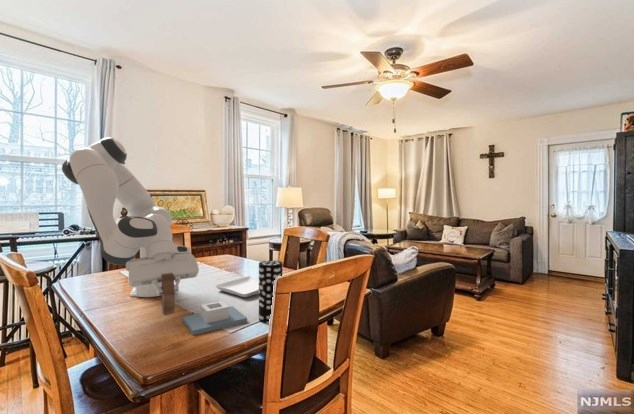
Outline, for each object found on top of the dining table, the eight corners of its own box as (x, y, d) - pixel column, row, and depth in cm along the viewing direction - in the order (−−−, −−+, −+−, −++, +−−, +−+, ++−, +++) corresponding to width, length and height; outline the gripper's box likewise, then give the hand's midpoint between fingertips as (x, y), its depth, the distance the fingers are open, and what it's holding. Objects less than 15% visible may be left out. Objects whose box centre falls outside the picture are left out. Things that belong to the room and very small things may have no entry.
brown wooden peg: (162, 312, 96) (161, 274, 96) (172, 310, 98) (171, 272, 98) (164, 315, 94) (163, 276, 94) (174, 313, 96) (173, 274, 95)
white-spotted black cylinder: (261, 314, 114) (261, 260, 114) (283, 314, 114) (284, 260, 114) (256, 323, 106) (256, 265, 106) (280, 323, 106) (280, 265, 105)
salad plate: (244, 301, 129) (244, 293, 129) (214, 292, 142) (214, 284, 142) (279, 289, 146) (279, 282, 146) (249, 282, 159) (249, 275, 159)
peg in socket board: (182, 320, 108) (182, 305, 108) (232, 310, 119) (232, 295, 118) (192, 335, 97) (192, 317, 97) (247, 322, 107) (247, 306, 107)
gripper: (125, 253, 95) (129, 293, 87) (194, 246, 107) (203, 281, 99) (124, 265, 99) (128, 304, 91) (191, 257, 111) (200, 291, 103)
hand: (168, 292), depth 95 cm, fingers closed on brown wooden peg, 3 cm apart
